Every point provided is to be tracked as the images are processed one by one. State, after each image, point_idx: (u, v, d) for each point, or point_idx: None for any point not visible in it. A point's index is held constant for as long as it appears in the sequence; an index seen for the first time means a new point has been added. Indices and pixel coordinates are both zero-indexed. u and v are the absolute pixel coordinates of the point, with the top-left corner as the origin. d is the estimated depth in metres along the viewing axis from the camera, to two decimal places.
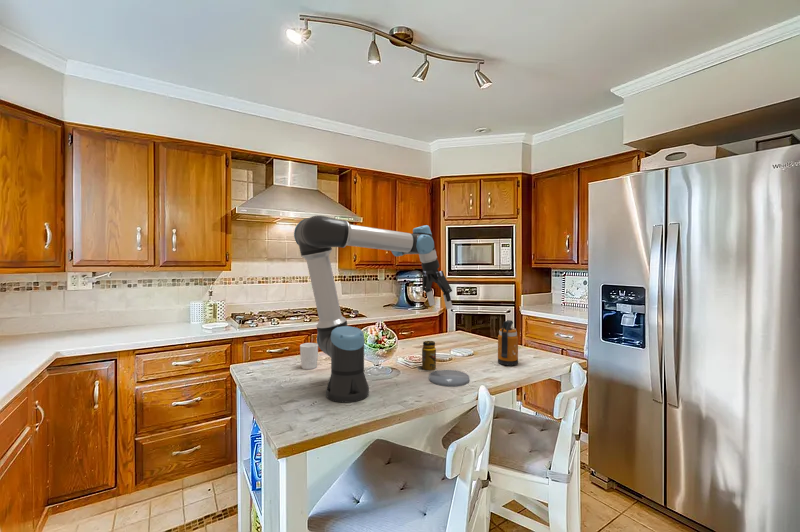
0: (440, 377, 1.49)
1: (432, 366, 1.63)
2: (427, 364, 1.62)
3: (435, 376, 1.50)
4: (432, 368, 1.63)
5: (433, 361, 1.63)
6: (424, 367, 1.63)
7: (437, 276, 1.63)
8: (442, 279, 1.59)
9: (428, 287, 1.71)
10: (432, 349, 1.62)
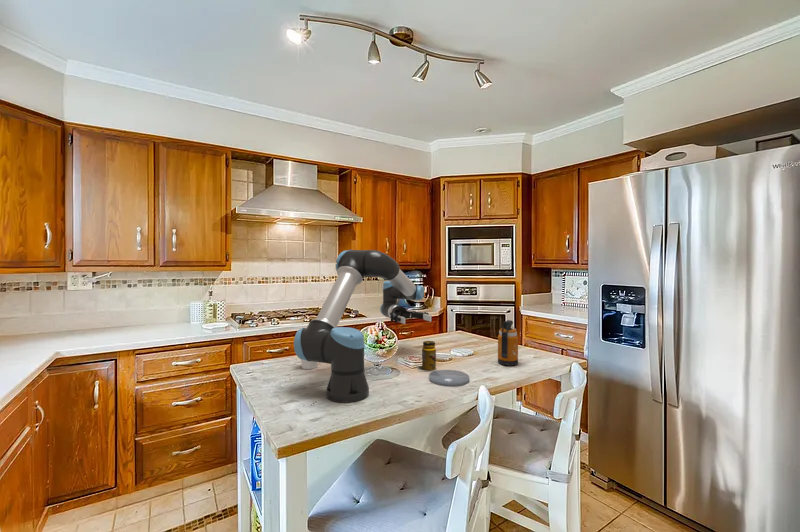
0: (440, 377, 1.49)
1: (432, 366, 1.63)
2: (427, 364, 1.62)
3: (435, 376, 1.50)
4: (432, 368, 1.63)
5: (433, 361, 1.63)
6: (424, 367, 1.63)
7: (409, 315, 1.86)
8: None
9: None
10: (432, 349, 1.62)
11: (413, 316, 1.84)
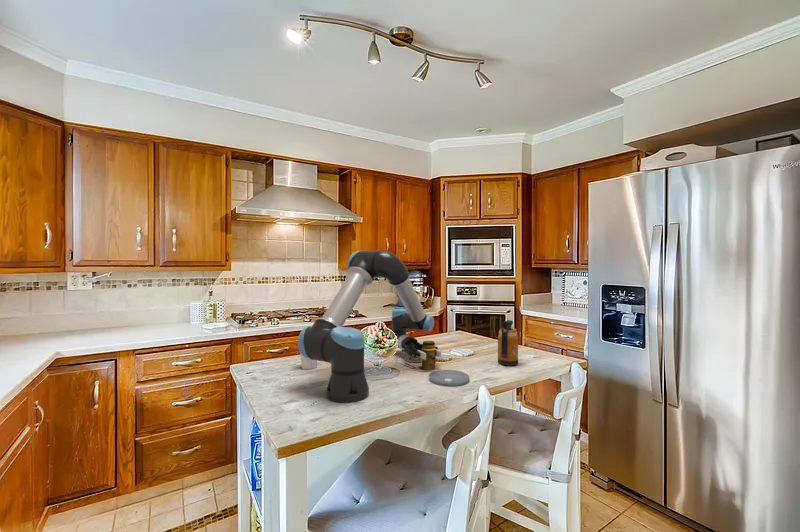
0: (440, 377, 1.49)
1: (432, 366, 1.63)
2: (427, 364, 1.62)
3: (435, 376, 1.50)
4: (432, 368, 1.63)
5: (433, 361, 1.63)
6: (424, 367, 1.63)
7: None
8: None
9: (415, 350, 1.68)
10: (431, 349, 1.62)
11: None
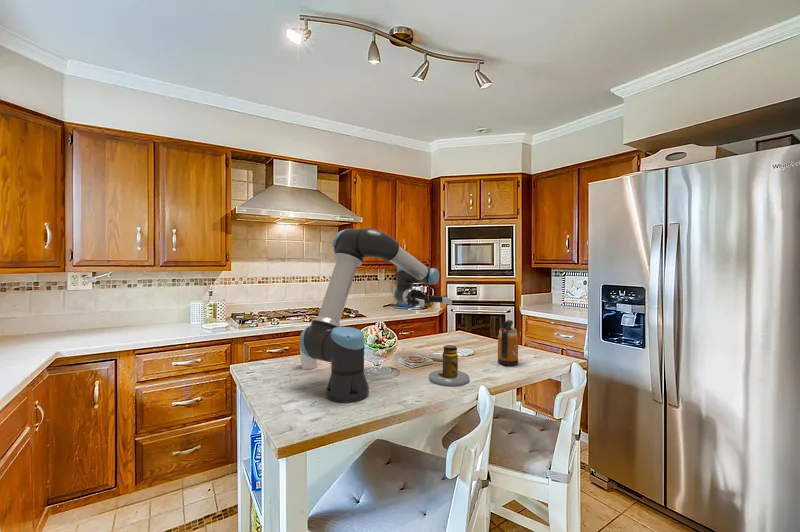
0: None
1: (454, 373, 1.48)
2: (448, 371, 1.48)
3: (435, 376, 1.50)
4: (454, 375, 1.48)
5: (455, 368, 1.48)
6: (445, 374, 1.48)
7: None
8: None
9: None
10: (454, 355, 1.48)
11: (431, 300, 1.70)
